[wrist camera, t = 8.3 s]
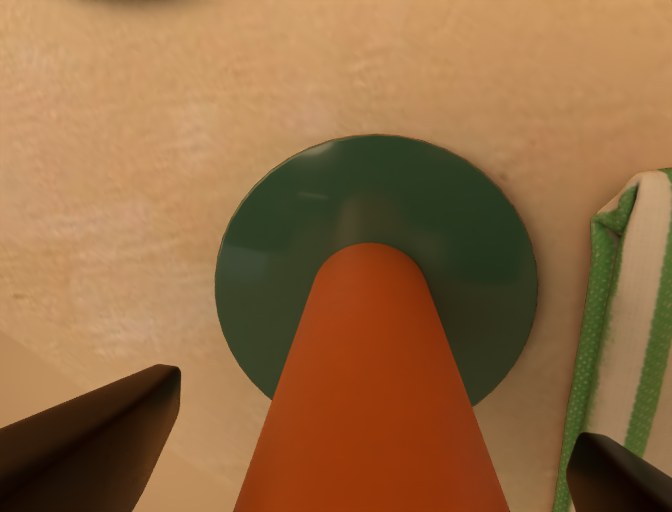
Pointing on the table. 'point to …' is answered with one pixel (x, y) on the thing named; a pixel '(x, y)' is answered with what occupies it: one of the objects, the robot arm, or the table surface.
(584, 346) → the dish towel
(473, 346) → the saucer
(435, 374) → the carrot
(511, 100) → the table surface
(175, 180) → the table surface
